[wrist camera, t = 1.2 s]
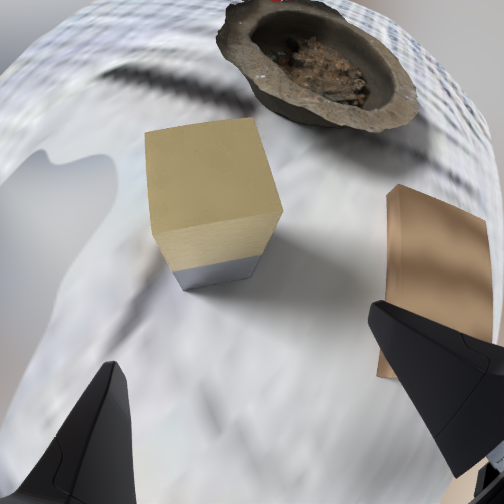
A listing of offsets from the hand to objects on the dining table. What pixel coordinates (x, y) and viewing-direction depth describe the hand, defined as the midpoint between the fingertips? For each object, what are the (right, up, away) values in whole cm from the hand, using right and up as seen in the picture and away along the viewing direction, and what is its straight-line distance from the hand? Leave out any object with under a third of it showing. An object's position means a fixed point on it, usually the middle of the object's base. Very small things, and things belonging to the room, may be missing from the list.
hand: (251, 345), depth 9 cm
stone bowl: (+8, +24, +23) cm, 34 cm away
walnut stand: (+19, -1, +16) cm, 25 cm away
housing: (-3, +3, +15) cm, 15 cm away
